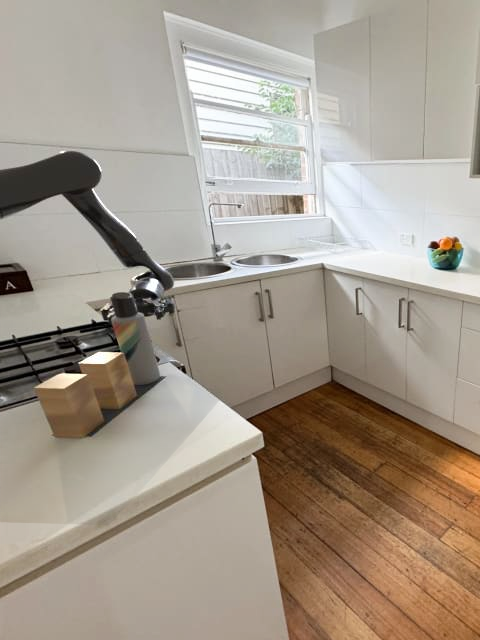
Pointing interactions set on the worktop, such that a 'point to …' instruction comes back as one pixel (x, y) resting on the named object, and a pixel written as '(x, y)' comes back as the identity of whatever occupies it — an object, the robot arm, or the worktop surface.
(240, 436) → the worktop surface
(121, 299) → the lotion bottle
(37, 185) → the robot arm
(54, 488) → the worktop surface
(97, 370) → the oak block
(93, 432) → the mat
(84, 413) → the oak block
